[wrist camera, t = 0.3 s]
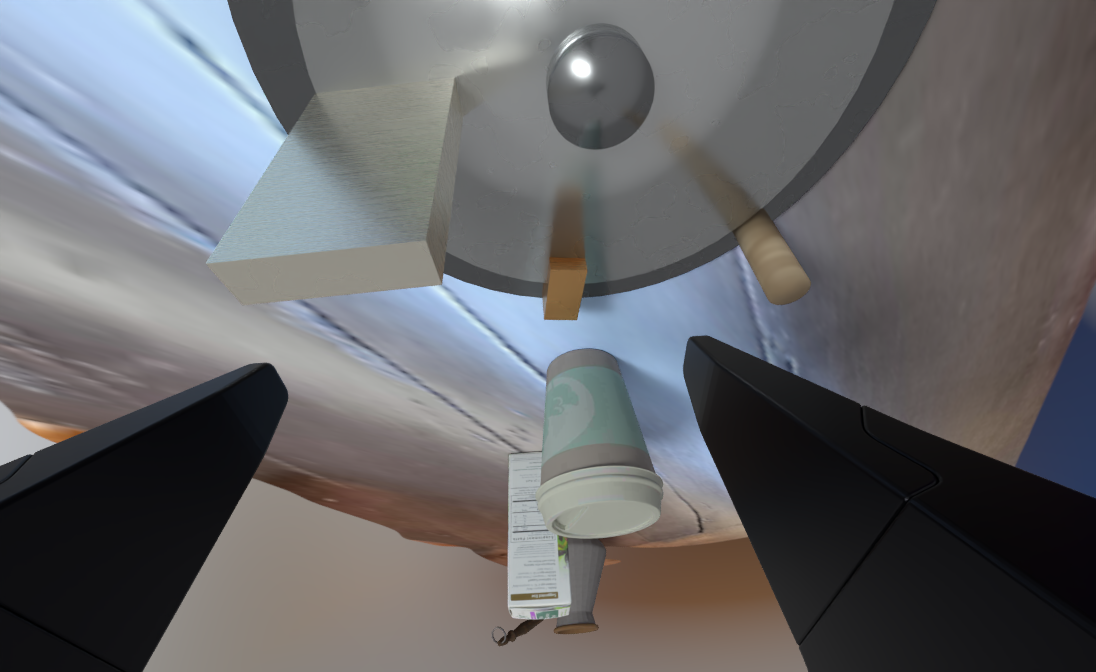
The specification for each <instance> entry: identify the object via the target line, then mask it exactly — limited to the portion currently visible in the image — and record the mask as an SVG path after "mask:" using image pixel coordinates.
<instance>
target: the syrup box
mask: <svg viewBox="0 0 1096 672" xmlns="http://www.w3.org/2000/svg"><path fill="white" fill-rule="evenodd" d="M541 464H542V452H530V453H518V454H509V474H508V608H509V612H510V614H511V616H512V617H513V618H519V619H550V618H557V617H562V616H566V615H569V611H570V606H571V603H572V598H571V583H570V568H569V553H568V537H564V536H559V535H556V534H554V533H552V532H550V531H549V530H548V529H547V528H546V526H545V523H544V519H543V516H542V513H541V512H540V511H539V510H538V506H537V504H538V502H537V500H536V497H535V494H536V491H537V490H538V488H539V487H540V483H541Z"/></svg>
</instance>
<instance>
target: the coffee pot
mask: <svg viewBox="0 0 1096 672" xmlns="http://www.w3.org/2000/svg"><path fill="white" fill-rule="evenodd" d="M568 553H569V568H570V583H571V598H572V603H571V606H570V611H569V615H566V616H562V617H558V619H557V626H556V628H555V629H554V633H556V634H577V633H586V632H591V631H596V630H598V628H599V627H598V625H596V624H595V621H594V617H593V614H592V611H593V607H594V603H595V599H596V594H597V590H598V586H599V582H600V578H601V573H602V569H603V565H604V561H605V557H606V549H605V547H604V545H603V544H602V542H601V541H600V540H598V539H597V538H592V539H580V538H569V537H568ZM543 620H544V619H529V620H527V621H525V622H523V623H521V624H520V625H519V626H518V627H517V628H516V629H515V630H514V631H513V630H510V631H509V632H508V635H507V636H506V633H505V631H504V630H503V629H502V628H501V627H496V628H499V629H501V630H502V631H503V633H504V636H503V637H502V638H501V639H500V640H499V641H498V642H497V641H495V639H494V637H493V631H494V630H495V629H496V628H494V629H493V631H492V638H493V641H494V642H495V643H497V644H498V645H499V646H503V645H506V644H507V643H508V641H512V642H513V641H515V639H516V637H518V636H520V635H523V634H526V633H527V632H529V631H530V630H531V629H533V628H534V627H535V626H536V625H537V624H539V623H540V622H542V621H543Z"/></svg>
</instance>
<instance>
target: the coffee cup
mask: <svg viewBox="0 0 1096 672" xmlns="http://www.w3.org/2000/svg"><path fill="white" fill-rule="evenodd" d="M662 487H663V481H662V479H661V478H660V477H659V476H658V475H657V474H656V473H655V470H654V467H653V464H652V462H651V459H650V456H649V453H648V450H647V447H646V444H645V441H644V438H643V435H642V432H641V429H640V427H639V424H638V421H637V418H636V415H635V412H634V409H633V406H632V403H631V400H630V398H629V395H628V392H627V389H626V386H625V383H624V380H623V377H622V375H621V372H620V369H619V366H618V363H617V361H616V359H615V358H614V357H613V356H612V355H610V354H608V353H606V352H604V351H601V350H596V349H578V350H573V351H570V352H567V353H564V354H562V355H560V356H559V357H557V358H556V359H554V360H553V361H552V362H551V364H550V365H549V367H548V369H547V381H546V396H545V413H544V430H543V447H542V464H541V483H540V487H539V488H538V490H537V491H536V494H535V497H536V500H537V502H538V504H537V506H538V510H539V511H540V512H541V513H542V516H543V519H544V523H545V526H546V528H547V529H548V530H549V531H550V532H552V533H554V534H556V535H559V536H564V537H569V538H580V539H592V538H606V537H614V536H619V535H624V534H628V533H632V532H635V531H639V530H641V529H644V528H646V527H648V526H650V525H652V524H653V523H655V522H656V521H657V520H658V519H659V517H660V515H661V500H662V498H663V490H662Z"/></svg>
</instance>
